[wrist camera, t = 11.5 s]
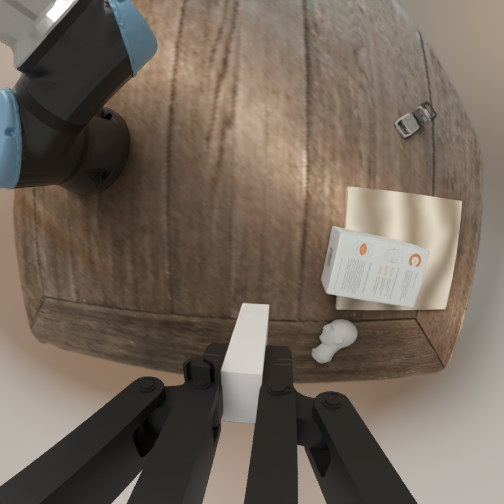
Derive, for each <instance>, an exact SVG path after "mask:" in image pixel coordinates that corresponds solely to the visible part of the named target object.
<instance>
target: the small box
mask: <svg viewBox="0 0 504 504" xmlns="http://www.w3.org/2000/svg"><path fill="white" fill-rule="evenodd" d="M429 253H430V251H429V250H426V249H424V248H421V247H419V246H416V245H414V244H411V243H407V242H403V241H399V240H395V239H391V238H386V237H382V236H378V235H373V234H369V233H364V232H360V231H355V230H350V229H345V228H340V227H335V226H332V229H331V235H330V240H329V245H328V250H327V255H326V260H325V265H324V269H323V273H322V277H321V282H322V284H323V287H324V289H325V292H326V293H327V294H331V295H336V296H342V297H347V298H353V299H359V300H365V301H371V302H378V303H384V304H390V305H397V306H403V307H410V308H413V307H414V304H415V301H416V298H417V295H418V292H419V289H420V287H421V284H422V281H423V277H424V272H425V268H426V265H427V261H428V257H429Z"/></svg>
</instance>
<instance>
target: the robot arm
mask: <svg viewBox="0 0 504 504" xmlns="http://www.w3.org/2000/svg"><path fill="white" fill-rule="evenodd" d="M0 42H1V43H3V44H5V45H6V46H8V47H10V48H11V49H12V52H13V64H14V68H15V69H17V70H19V71H21V72H22V73H23V74H22V76H21V77H20V79H19V80H18V82H17V83H16V84H15V86H14V87H13V89H10V88H4V89H0V188H6V189H14V188H24V187H35V186H47V185H59V186H61V187H63V188H65V189H67V190H69V191H71V192H74V193H77V194H95V193H99V192H101V191H103V190H105V189H107V188H108V187H109V186H110V185H111V184H113V183H114V181H115V180H116V179H117V178H118V176H119V175H120V173H121V171H122V170H123V167H124V165H125V163H126V160H127V156H128V151H129V134H128V129H127V126H126V124H125V122H124V120H123V118H122V117H121V116H120V115H119V114H118V113H117V112H115V111H114V110H111V109H109V108H107V107H104V105H105V104H106V103H107V102H108V101H109V99H110V98H111V97H112V96H113V95H114V94H115V93H116V92H117V91H118V90H119V89H120V88H121V87H122V86H123V85H124V84H125V83H127V82H128V81H129V80H130V79H131V78H132V77H133V78H134V77H135V76H136V74H137V72H138V71H139V70H140V69H141V68H142V67H143V66H144V65H145V64H146V63H147V62H148V61H149V60H150V59H151V58H152V57H153V56H154V55H155V53H156V51H157V40H156V37H155V35H154V34H153V32H152V30H151V29H150V27H149V25H148V24H147V22H146V21H145V19H144V18H143V16H142V15H141V14H140V12H139V11H138V10H137V8H136V7H135V6H134V4H133V3H132V2H131V1H130V0H0ZM268 319H269V305H264V304H246V303H243V304H242V307H241V310H240V313H239V316H238V319H237V322H236V325H235V328H234V332H233V335H232V338H231V341H230V344H228V343H217V342H213V343H211V344H210V345H209V346H207V347H206V350H205V352H204V354H203V356H202V357H195V358H191V359H189V360H187V361H185V362H184V364H183V370H184V378H185V382H184V384H182V385H178V386H164V384H163V382H162V381H161V380H159V379H158V378H155V377H142V378H138V379H137V380H135V381H134V382H132V383H131V384H130V385H129V386H127V387H126V388H125V389H124V390H123V391H121V392H120V393H119V394H118V395H117V396H115V397H114V398H113V399H112V400H110V401H109V402H108V403H107V404H105V405H104V406H103V407H102V408H101V409H99V410H98V411H97V412H96V413H94V414H93V415H92V416H91V417H90V418H88V419H87V420H86V421H84V422H83V423H82V424H81V425H79V426H78V427H77V428H76V429H75V430H73V431H72V432H71V433H69V434H68V435H67V436H66V437H64V438H63V439H62V440H61V441H59V442H58V443H57V444H55V445H54V446H53V447H52V448H50V449H49V450H48V451H46V452H45V453H44V454H43V455H41V456H40V457H39V458H37V459H36V460H35V461H34V462H32V463H31V464H30V465H28V466H27V467H26V468H24V469H23V470H22V471H20V472H19V473H18V474H16V475H15V476H14V477H12V478H11V479H10V480H8V481H7V482H6V483H4V484H3V485H2V486H0V504H111V503H112V502H113V501H114V500H115V499H116V498H117V497H118V496H119V495H120V494H121V492H122V491H123V490H124V489H125V488H126V487H127V486H128V485H129V484H130V483H131V482H132V481H133V479H134V478H135V477H136V476H137V475H138V474H139V472H141V470H142V469H143V470H142V472H141V474H140V476H139V479H138V481H137V483H136V485H135V487H134V489H133V491H132V493H131V496H130V498H129V500H128V502H127V504H202V502H203V498H204V494H205V491H206V487H207V483H208V479H209V475H210V471H211V467H212V464H213V459H214V456H215V452H216V447H217V444H218V439H219V436H220V432H221V418H222V415H223V421H229V422H238V423H250V424H255V429H254V436H253V445H252V451H251V459H250V466H249V473H248V480H247V487H246V494H245V500H244V504H298V467H297V445H301V446H304V447H305V451H306V453H307V456H308V459H309V461H310V464H311V466H312V469H313V471H314V474H315V476H316V478H317V481H318V483H319V486H320V488H321V491H322V493H323V496H324V498H325V500H326V503H327V504H417V502H416V501H415V499H414V498H413V496H412V495H411V493H410V491H409V490H408V489H407V487H406V485H405V484H404V482H403V481H402V479H401V478H400V476H399V475H398V473H397V472H396V470H395V469H394V467H393V466H392V464H391V463H390V461H389V460H388V458H387V457H386V455H385V454H384V452H383V451H382V449H381V448H380V446H379V445H378V443H377V442H376V440H375V438H374V437H373V436H372V434H371V432H370V431H369V429H368V428H367V426H366V425H365V423H364V422H363V420H362V419H361V417H360V416H359V414H358V413H357V411H356V410H355V408H354V407H353V405H352V404H351V402H350V401H349V399H348V398H347V397H346V396H345V395H343V394H341V393H338V392H333V391H330V392H323V393H320V394H319V395H318V396H316V398H311V397H307V396H304V395H302V394H300V393H298V392H297V391H296V390H295V388H294V386H293V374H292V354H291V351H290V350H289V349H288V347H287V346H267V337H268Z"/></svg>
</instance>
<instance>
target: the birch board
mask: <svg viewBox="0 0 504 504" xmlns="http://www.w3.org/2000/svg"><path fill="white" fill-rule="evenodd" d="M461 207H462V201H456V200H450V199H444V198H438V197H431V196H425V195H418V194H410V193H403V192H395V191H386V190H377V189H368V188H358V187H346V200H345V217H344V228H345V229H350V230H355V231H360V232H364V233H369V234H373V235H378V236H382V237H386V238H391V239H395V240H399V241H403V242H407V243H411V244H414V245H416V246H419V247H421V248H424V249H426V250H429V251H430V253H429V257H428V261H427V265H426V268H425V272H424V277H423V281H422V284H421V287H420V289H419V292H418V295H417V298H416V301H415V304H414V307H413V308H410V307H403V306H397V305H390V304H384V303H378V302H371V301H365V300H359V299H353V298H347V297H342V296H337V298H336V305H335V307H336V309H337V310H433V309H446V305H447V300H448V296H449V291H450V287H451V282H452V276H453V271H454V265H455V259H456V253H457V246H458V238H459V229H460V219H461Z"/></svg>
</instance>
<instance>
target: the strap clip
mask: <svg viewBox="0 0 504 504" xmlns="http://www.w3.org/2000/svg"><path fill="white" fill-rule="evenodd" d="M426 103H427V104H428V105H429V107H430V108H431V110H432V111H433V113H434V115H433V116H431V114H430V113H429V111H428V110H427V109H426V107H425V106H424V104H426ZM412 112H413V114H414V115H415V117H416V118H417V120H418V121H419V123H420V124H421V125H422V126H423V125H428V124H430V123H431V122H432V121H431V120H432V119H434V118H435V116H436V112H435V111H434V109H433V108H432V106H431V105H430V103H429V102H428V101H426V102H423V103H422V104H420V105H419V106H418V107H417V108H415V109H414V110H413V111H412ZM413 114H410V113H408V114H406V115H405V116H403V117H401V118H399V119H398V120H397V121H396V122H395V123H394V126H395V127H396V129H397V131H398V132H399V134H400V135H401V136H402V137H403V138H406V137H408V136H410V135H412V134H413V133H414V132H415V131H416V130H418V129H419V123H418V122H417V120H416V119H415V117H414V116H413ZM398 122H400V123H401V125H402V126H403V128H404V129H405V130H406V132H407V133H408V134H407V135H404V133H403V132H402V131H401V129H400V128H399V126H398Z"/></svg>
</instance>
